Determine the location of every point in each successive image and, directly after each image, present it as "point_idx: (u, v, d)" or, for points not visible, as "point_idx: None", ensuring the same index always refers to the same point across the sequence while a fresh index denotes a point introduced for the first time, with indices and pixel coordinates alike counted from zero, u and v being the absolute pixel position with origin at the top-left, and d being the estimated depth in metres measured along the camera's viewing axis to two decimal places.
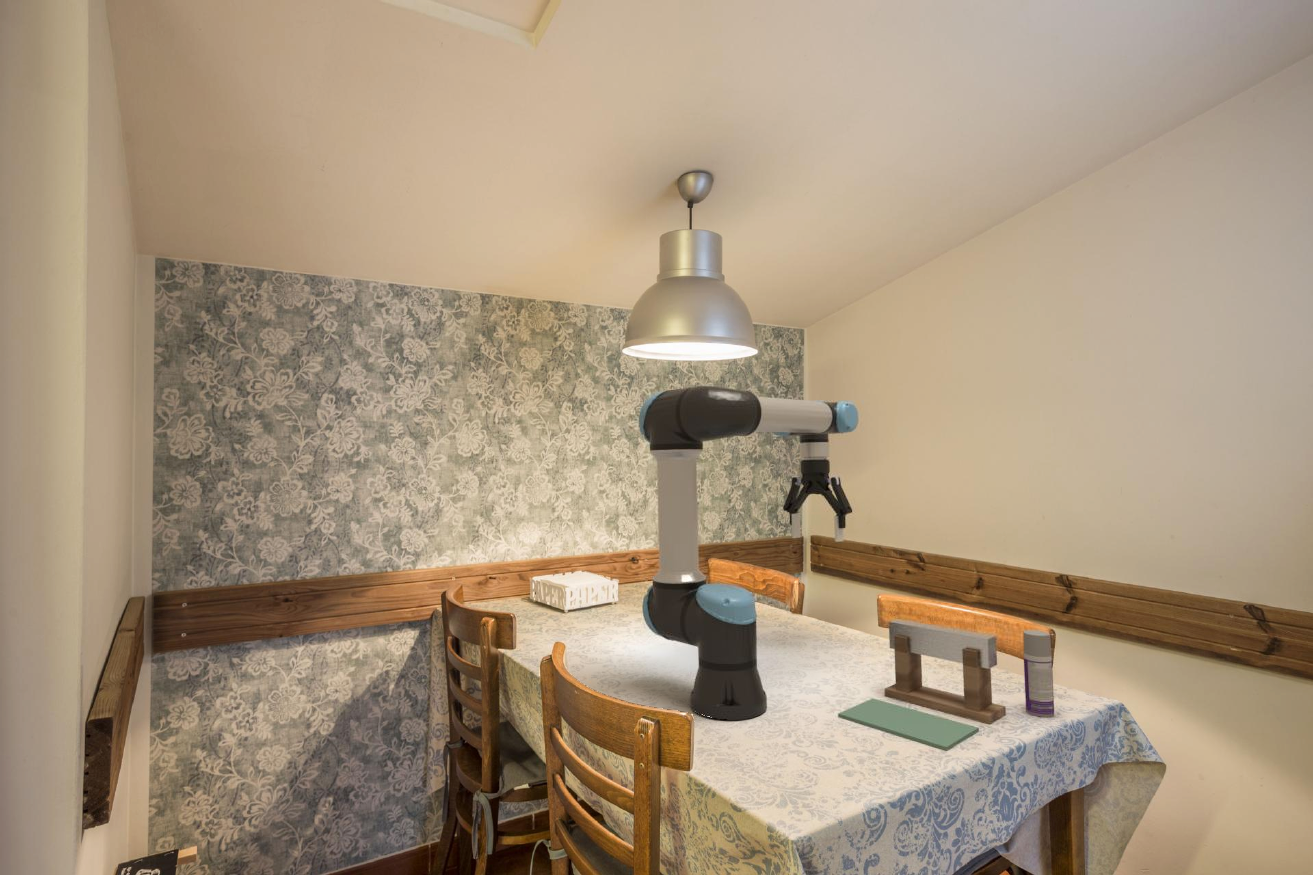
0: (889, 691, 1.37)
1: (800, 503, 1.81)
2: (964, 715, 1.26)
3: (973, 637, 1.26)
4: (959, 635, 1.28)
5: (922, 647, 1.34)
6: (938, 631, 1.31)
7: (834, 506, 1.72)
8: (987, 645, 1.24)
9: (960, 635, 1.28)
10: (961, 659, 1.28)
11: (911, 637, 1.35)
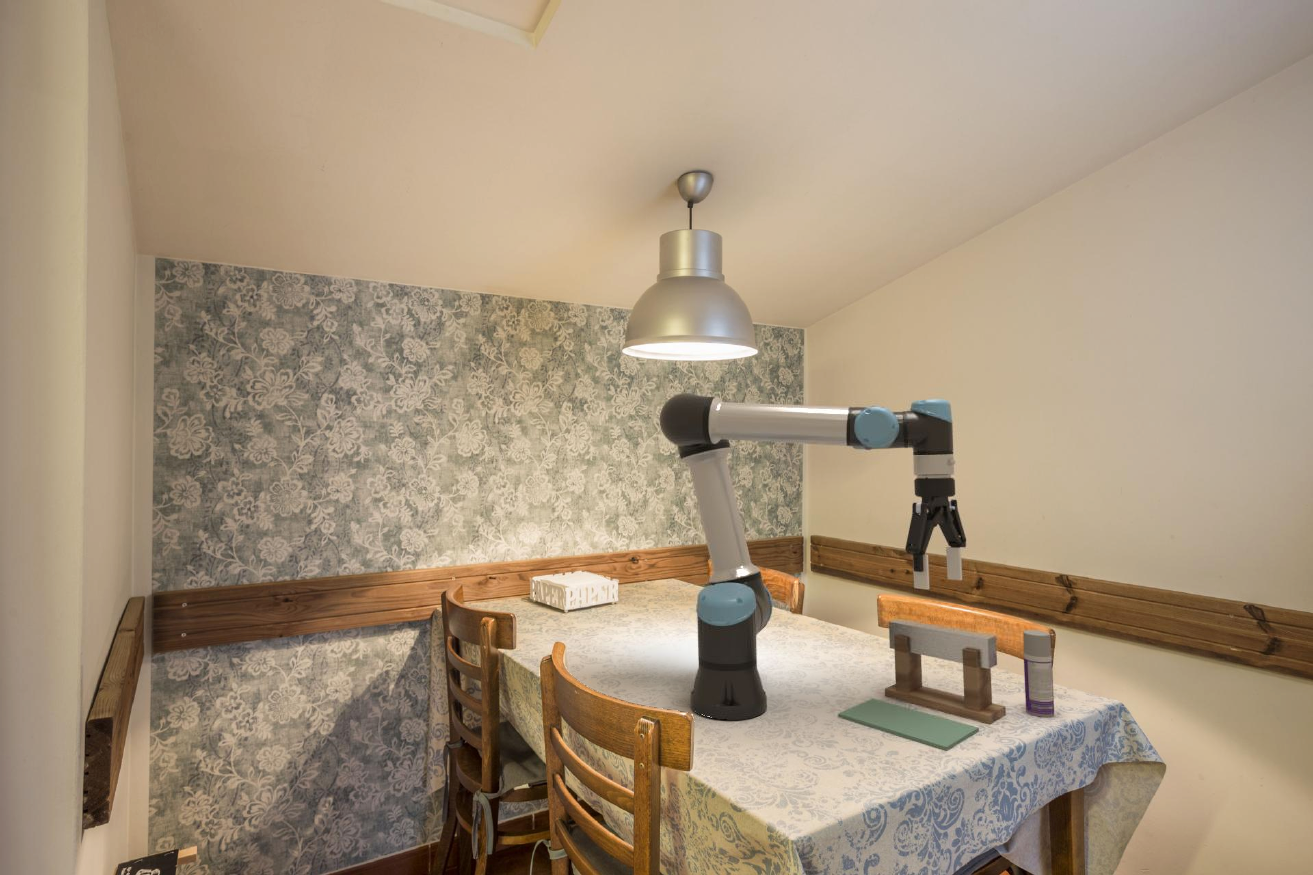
0: (889, 691, 1.37)
1: (949, 534, 1.37)
2: (964, 715, 1.26)
3: (973, 637, 1.26)
4: (959, 635, 1.28)
5: (922, 647, 1.34)
6: (938, 631, 1.31)
7: None
8: (987, 645, 1.24)
9: (960, 635, 1.28)
10: (961, 659, 1.28)
11: (911, 637, 1.35)
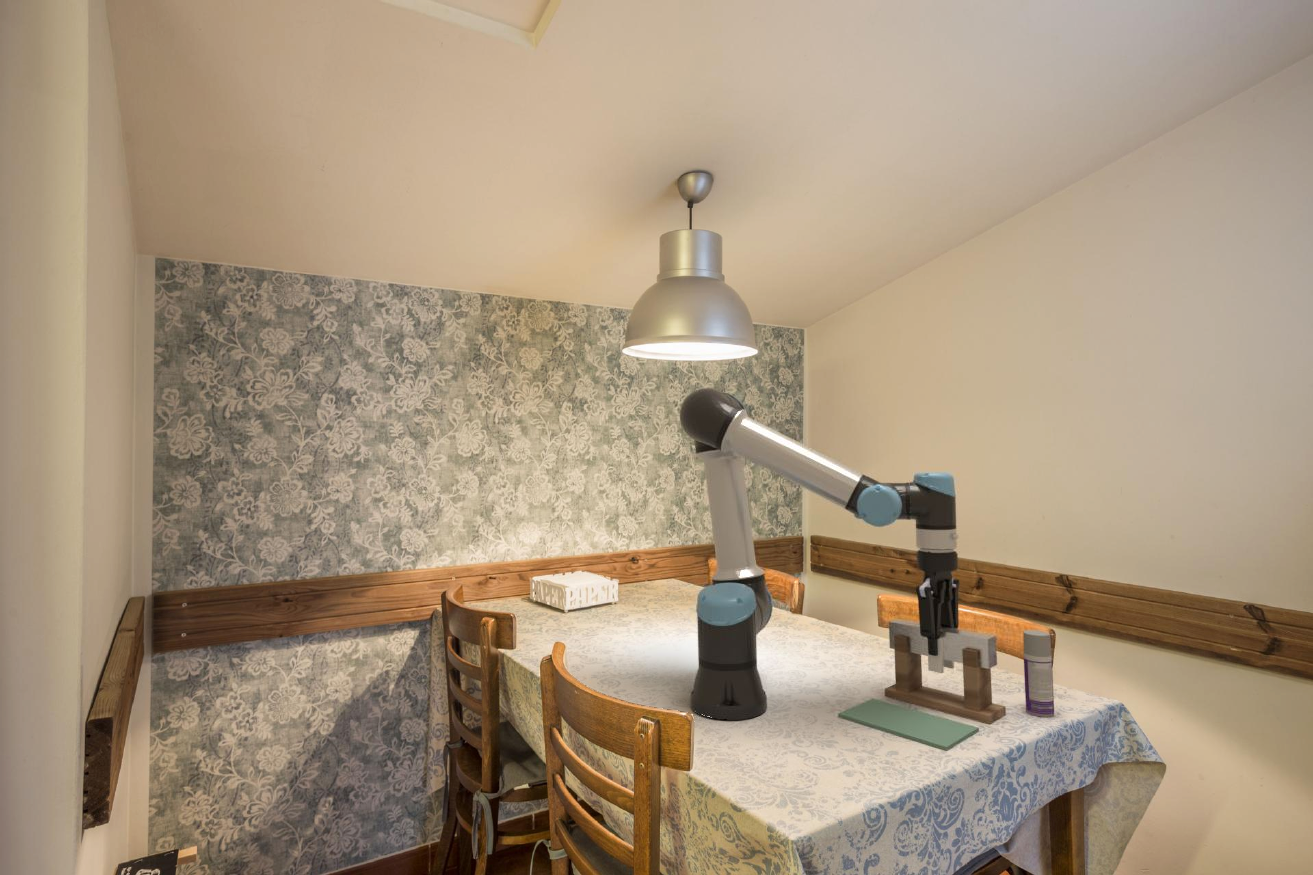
0: (889, 691, 1.37)
1: (944, 614, 1.34)
2: (964, 715, 1.26)
3: (973, 637, 1.26)
4: (959, 635, 1.28)
5: (922, 647, 1.34)
6: None
7: None
8: (987, 645, 1.24)
9: (960, 635, 1.28)
10: (961, 659, 1.28)
11: (910, 637, 1.35)
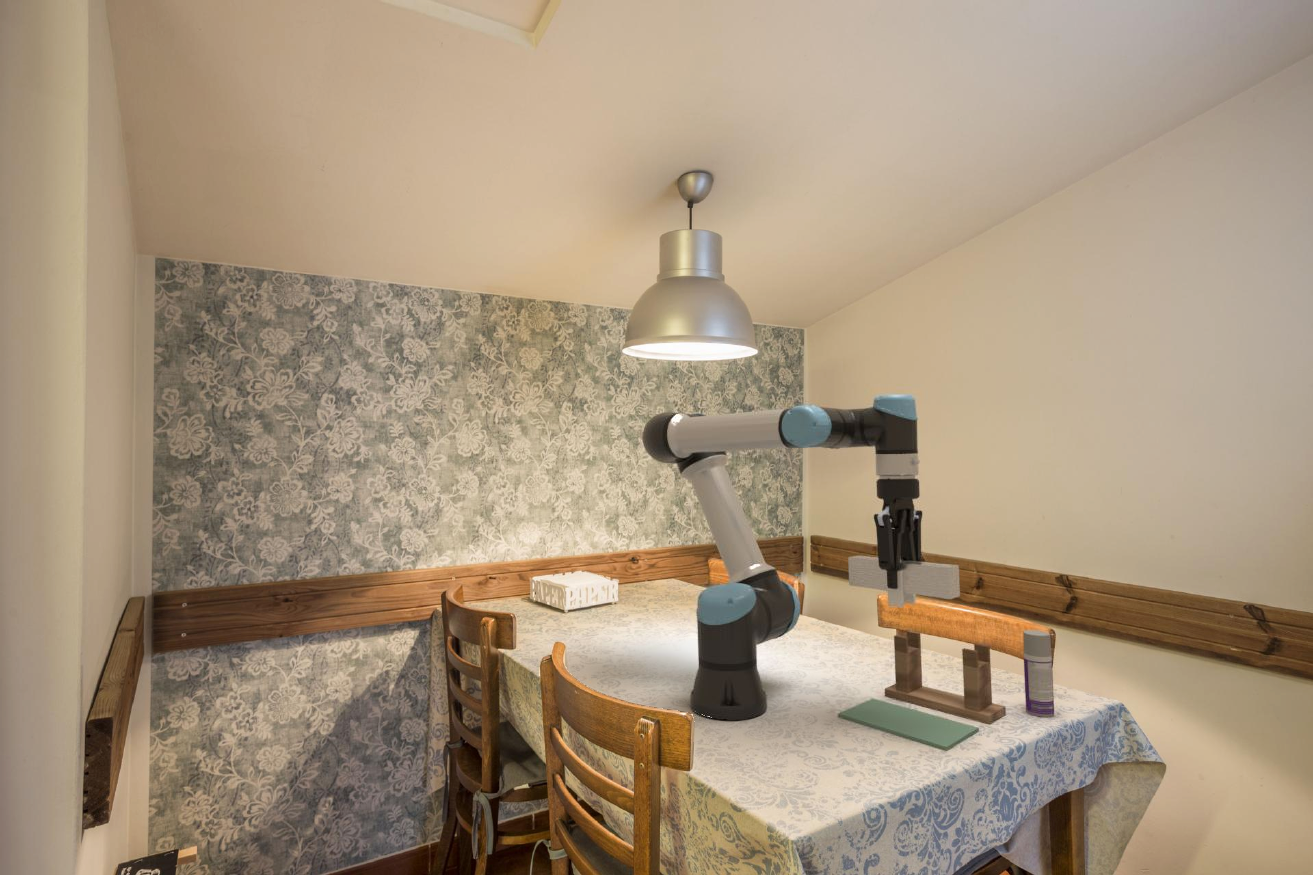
0: (889, 691, 1.37)
1: (905, 547, 1.26)
2: (964, 715, 1.26)
3: (934, 567, 1.18)
4: (920, 566, 1.20)
5: (882, 581, 1.25)
6: None
7: None
8: (949, 573, 1.16)
9: (921, 565, 1.19)
10: (922, 591, 1.19)
11: (870, 572, 1.27)
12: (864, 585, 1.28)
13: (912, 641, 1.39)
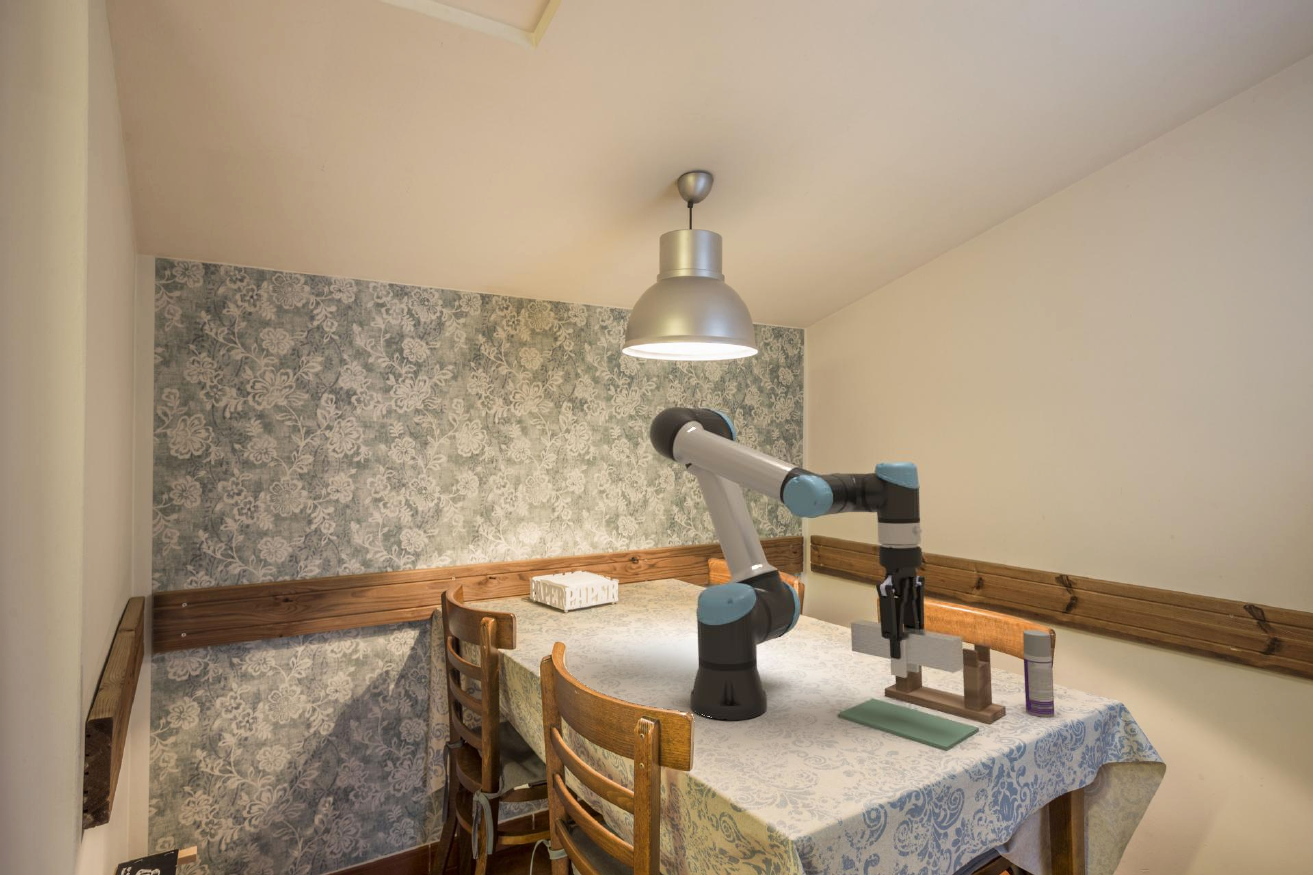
0: (889, 691, 1.37)
1: (908, 614, 1.25)
2: (964, 715, 1.26)
3: (937, 639, 1.17)
4: (923, 636, 1.19)
5: (885, 649, 1.25)
6: None
7: None
8: (952, 647, 1.15)
9: (924, 636, 1.19)
10: (925, 662, 1.19)
11: (873, 639, 1.26)
12: (867, 652, 1.27)
13: None
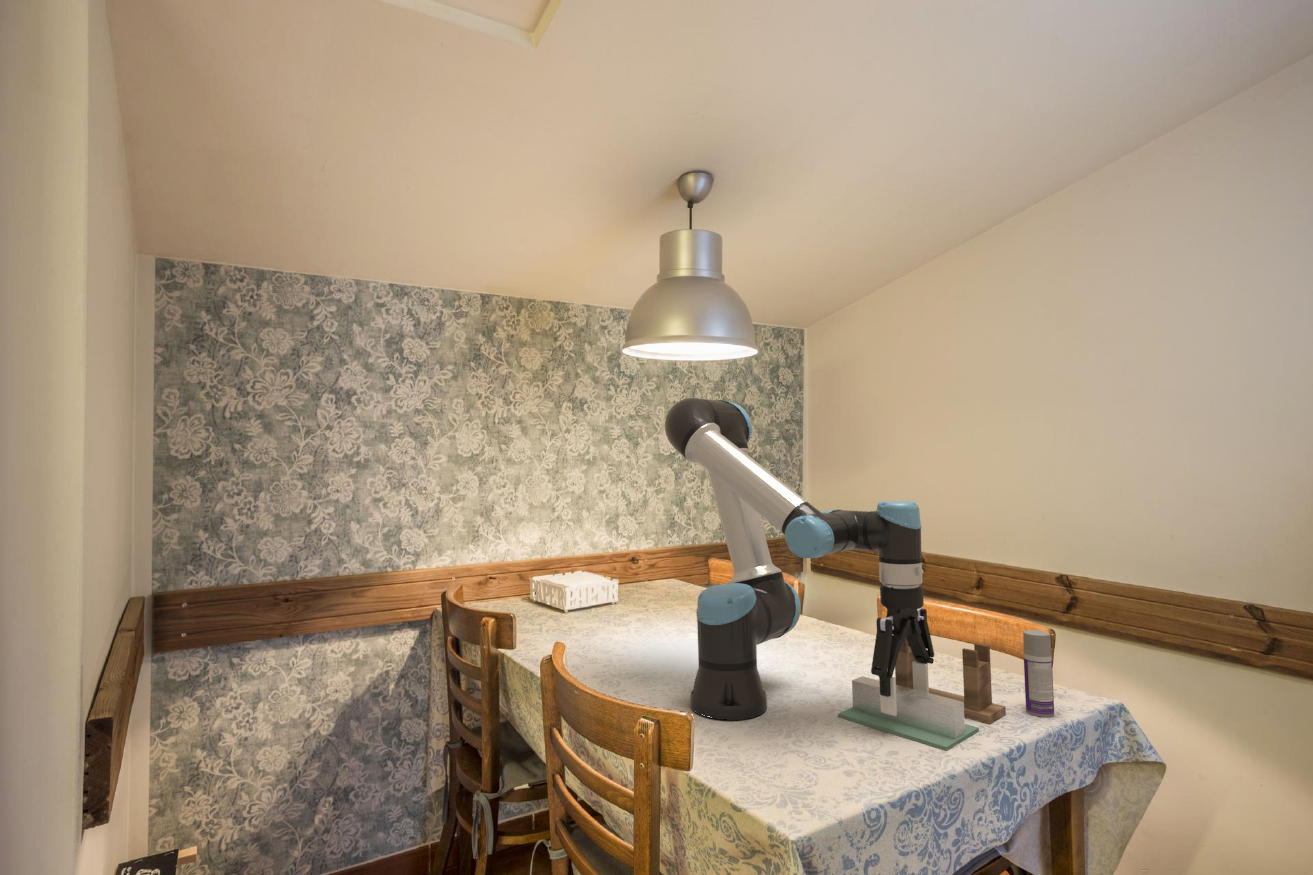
0: None
1: (915, 647, 1.26)
2: (964, 715, 1.26)
3: (939, 703, 1.17)
4: (924, 700, 1.19)
5: None
6: (903, 694, 1.22)
7: None
8: (954, 713, 1.15)
9: (925, 700, 1.18)
10: (926, 726, 1.18)
11: (874, 698, 1.26)
12: (868, 711, 1.27)
13: None
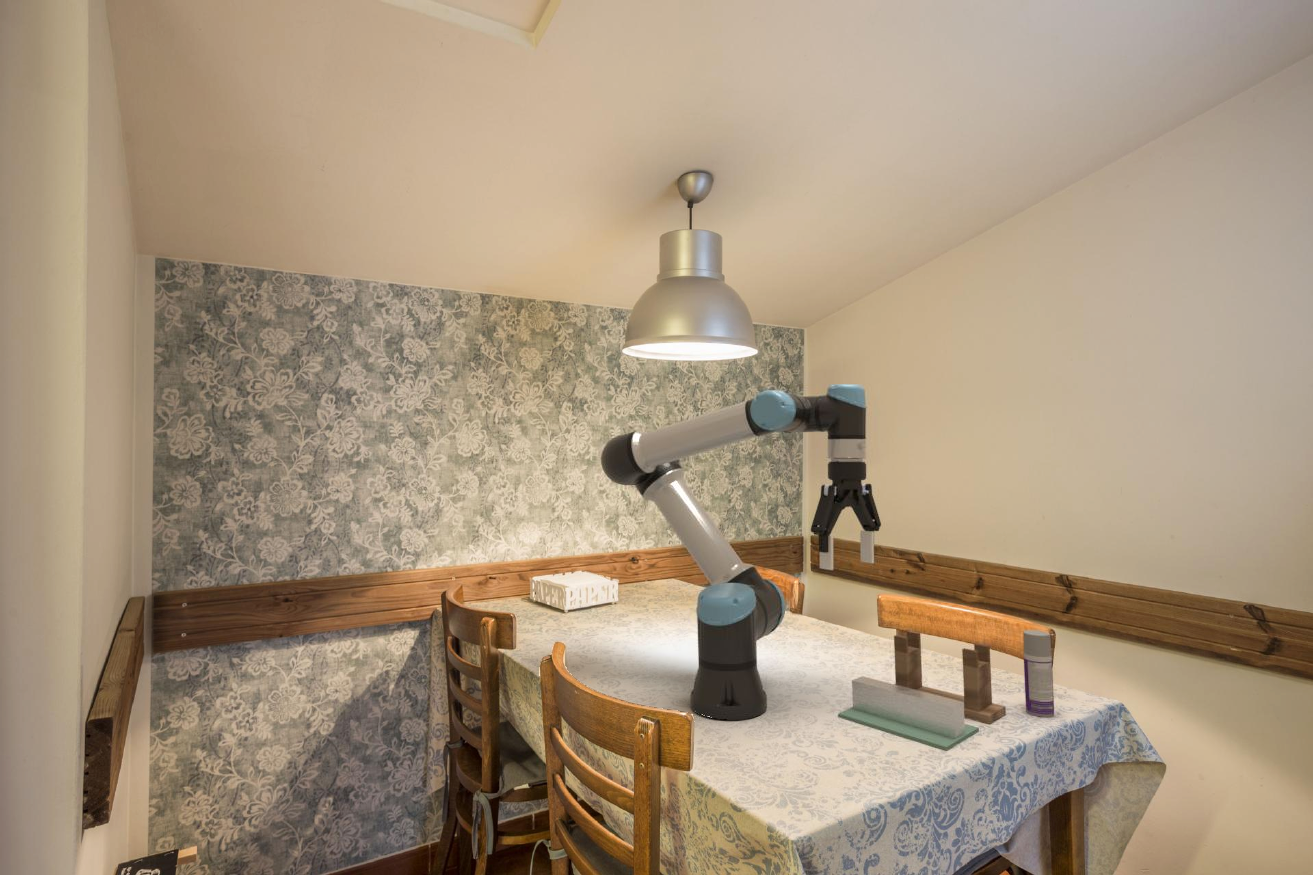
0: None
1: (862, 518, 1.39)
2: (964, 715, 1.26)
3: (939, 703, 1.17)
4: (924, 700, 1.19)
5: (886, 710, 1.24)
6: (903, 694, 1.22)
7: None
8: (954, 713, 1.15)
9: (925, 700, 1.18)
10: (926, 726, 1.18)
11: (874, 698, 1.26)
12: (868, 711, 1.27)
13: (912, 641, 1.39)
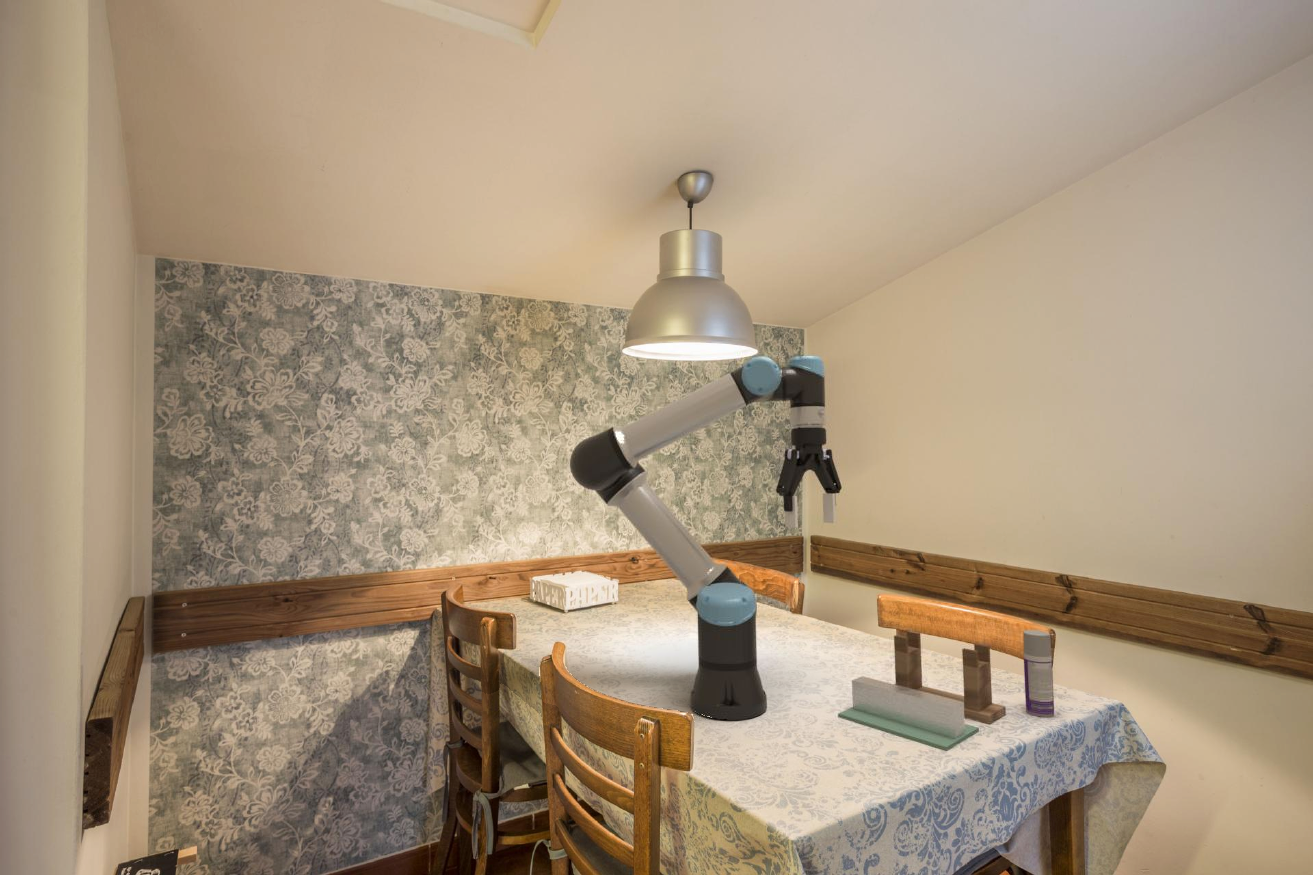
0: None
1: (824, 481, 1.49)
2: (964, 715, 1.26)
3: (939, 703, 1.17)
4: (924, 700, 1.19)
5: (886, 710, 1.24)
6: (903, 694, 1.22)
7: None
8: (954, 713, 1.15)
9: (925, 700, 1.18)
10: (926, 726, 1.18)
11: (874, 698, 1.26)
12: (868, 711, 1.27)
13: (912, 641, 1.39)
